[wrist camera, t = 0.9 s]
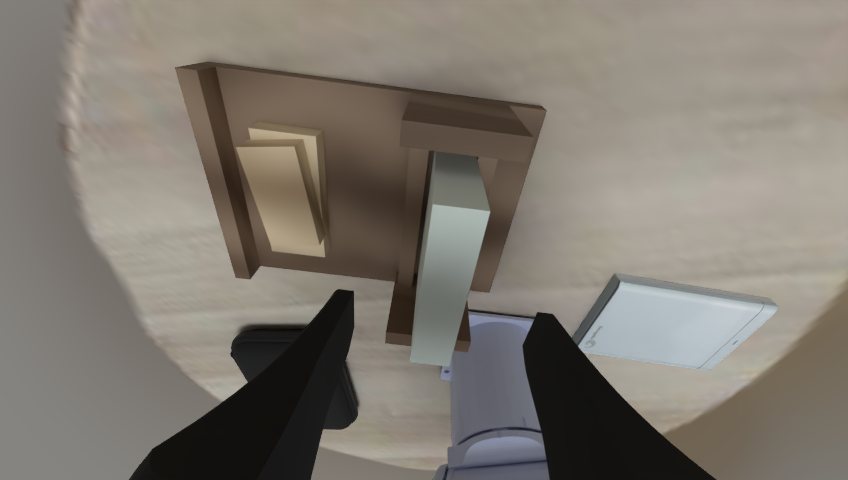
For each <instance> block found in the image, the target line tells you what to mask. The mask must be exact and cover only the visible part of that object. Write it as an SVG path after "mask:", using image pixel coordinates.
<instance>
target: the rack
mask: <svg viewBox="0 0 848 480" xmlns="http://www.w3.org/2000/svg"><path fill="white" fill-rule="evenodd" d="M175 69H176V73H177V76H178V80H179V83H180V87H181V90H182V94H183V97H184V100H185V104H186V107H187V111H188V114H189V118H190V121H191V125H192V128H193V132H194V135H195V138H196V142H197V145H198V149H199V152H200V156H201V159H202V163H203V166H204V170H205V173H206V177H207V180H208V183H209V187H210V190H211V194H212V197H213V201H214V204H215V208H216V211H217V215H218V218H219V221H220V225H221V228H222V232H223V235H224V239H225V242H226V246H227V249H228V253H229V256H230V260H231V263H232V266H233V270H234V273H235V277H236V278H243V279H251V278H252V276H253V275H254V274H255V272H256V271H257V270H258V268H259V267H260V266H266V267H275V268H284V269H292V270H301V271H309V272H318V273H326V274H335V275H343V276H352V277H361V278H369V279H378V280H386V281H395V285H394V291H393V297H392V302H391V308H390V313H389V319H388V324H387V330H386V341H385V343H389V344H398V345H406V346H411V343H412V332H413V322H414V311H415V301H416V290H417V280H418V269H419V260H420V252H421V245H422V238H423V230H424V223H425V215H426V208H427V201H428V193H429V186H430V178H431V171H432V163H433V156H434V151H438V152H446V153H454V154H461V155H469V156H476V157H477V161H478V165H479V169H480V172H481V176H482V180H483V184H484V188H485V192H486V196H487V200H488V204H489V208H490V215H489V219H488V222H487V226H486V230H485V234H484V237H483V241H482V245H481V249H480V252H479V256H478V260H477V264H476V268H475V271H474V275H473V279H472V283H471V286H470V290H472V291H480V292H490V289H491V286H492V283H493V280H494V276H495V273H496V270H497V267H498V264H499V260H500V257H501V254H502V251H503V248H504V245H505V241H506V238H507V235H508V232H509V229H510V226H511V222H512V219H513V216H514V213H515V210H516V207H517V203H518V200H519V197H520V194H521V191H522V187H523V184H524V181H525V178H526V175H527V172H528V168H529V165H530V162H531V159H532V156H533V153H534V149H535V146H536V143H537V140H538V137H539V134H540V130H541V127H542V124H543V121H544V118H545V114H546V111H547V110H546V109H544V108H543V107H542V106H536V105H528V104H521V103H513V102H506V101H498V100H490V99H483V98H475V97H468V96H460V95H453V94H445V93H438V92H430V91H423V90H415V89H408V88H400V87H393V86H385V85H378V84H370V83H363V82H355V81H348V80H340V79H333V78H325V77H317V76H310V75H302V74H295V73H287V72H280V71H272V70H265V69H257V68H250V67H242V66H235V65H227V64H220V63H212V62H204V63H198V64H192V65H187V66H181V67H175ZM258 122H263V123H271V124H279V125H287V126H295V127H302V128H310V129H318V130H323V140H324V156H325V172H326V187H327V203H328V219H329V235H330V248H329V250H328V252H327V254H326V256H325V257H318V256H309V255H301V254H293V253H284V252H276V251H272V249H271V244H270V241H269V238H268V236H267V233H266V230H265V227H264V224H263V222H262V219H261V216H260V213H259V211H258V208H257V205H256V202H255V199H254V197H253V194H252V191H251V188H250V186H249V183H248V180H247V177H246V174H245V172H244V169H243V166H242V163H241V160H240V158H239V155H238V152H237V149H236V147H237V146H238V145H240V144H242V143H243V142H245V141H247V140H250V134H249V129H248V128H249V127H251V126H253V125H255V124H256V123H258ZM470 344H471V336H470V325H469V314H468V303H467V301H466V305H465V309H464V313H463V317H462V320H461V324H460V328H459V332H458V335H457V339H456V343H455V347H454V350H453V351H460V352H468V350H469V347H470Z"/></svg>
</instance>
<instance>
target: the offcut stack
mask: <svg viewBox="0 0 848 480" xmlns="http://www.w3.org/2000/svg"><path fill="white" fill-rule="evenodd" d="M248 129H249V134H250V140H247V141H245V142H243V143H242V144H240V145H238V146H237V147H236V149H237V152H238V155H239V158H240V160H241V163H242V166H243V169H244V172H245V174H246V177H247V180H248V183H249V186H250V188H251V191H252V194H253V197H254V199H255V202H256V205H257V208H258V211H259V213H260V216H261V219H262V222H263V224H264V227H265V230H266V233H267V236H268V238H269V241H270V244H271V249H272V251H276V252H284V253H293V254H301V255H309V256H318V257H325V256H326V254H327V252H328V250H329V248H330V235H329V219H328V203H327V187H326V172H325V156H324V140H323V130H318V129H310V128H302V127H295V126H287V125H279V124H271V123H263V122H258V123H256V124H255V125H253V126H251V127H249V128H248Z"/></svg>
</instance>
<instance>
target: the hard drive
mask: <svg viewBox="0 0 848 480" xmlns="http://www.w3.org/2000/svg"><path fill="white" fill-rule="evenodd" d="M777 309H778V306H777V305H776V304H775V303H774V302H773V301H772V300H770V299H768V298H762V297H755V296H750V295H744V294H738V293H732V292H726V291H720V290H714V289H708V288H702V287H696V286H689V285H683V284H677V283H671V282H665V281H659V280H653V279H647V278H641V277H635V276H628V275H622V274H614V276H613V277H612V279H611V281H610V282H609V284H608V285H607V286H606V288H605V289H604V291H603V292H602V294H601V295H600V297H599V298H598V300H597V301H596V303H595V304H594V306H593V307H592V309H591V310H590V312H589V313H588V315H587V316H586V318H585V319H584V321H583V323H582V324H581V326H580V327H579V329H578V330H577V332H576V333H575V335H574V336H573V338H572V339H573V341H574V342H575V343H576V344H577V346H578V347H579V348H580V349H581V351H582V352H584V353H591V354H598V355H605V356H611V357H618V358H624V359H631V360H637V361H644V362H651V363H657V364H664V365H671V366H678V367H685V368H692V369H699V370H711V369H712V368H713V367H715V366H716V365H717V364H718V363H719V362H720V361H722V360H723V359H724V358H725V357H726V356H727V355H729V354H730V353H731V352H732V351H733V350H734V349H735V348H736V347H738V346H739V345H740V344H741V343H742V342H743V341H744V340H745V339H747V338H748V337H749V336H750V335H751V334H752V333H754V332H755V331H756V330H757V329H758V328H759V327H760V326H761V325H762V324H764V323H765V322H766V321H767V320H768V319H769V318H770V317H771V316H772V315H773V314H774V313H775V312H776V311H777Z"/></svg>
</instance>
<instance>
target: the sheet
mask: <svg viewBox="0 0 848 480" xmlns="http://www.w3.org/2000/svg"><path fill="white" fill-rule="evenodd" d="M489 215H490V208H489V204H488V200H487V196H486V192H485V188H484V184H483V180H482V176H481V172H480V169H479V165H478V161H477V157H476V156H469V155H461V154H454V153H446V152H438V151H434V156H433V163H432V171H431V178H430V186H429V193H428V201H427V208H426V215H425V223H424V230H423V238H422V245H421V252H420V260H419V269H418V280H417V290H416V301H415V311H414V322H413V332H412V343H411V354H410V362H411V363H420V364H429V365H438V366H447V367H449V366H450V362H451V358H452V354H453V350H454V347H455V343H456V339H457V335H458V332H459V328H460V324H461V320H462V317H463V313H464V309H465V305H466V301H467V298H468V294H469V290H470V286H471V283H472V279H473V275H474V271H475V268H476V264H477V260H478V256H479V252H480V249H481V245H482V241H483V237H484V234H485V230H486V226H487V222H488V219H489Z"/></svg>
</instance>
